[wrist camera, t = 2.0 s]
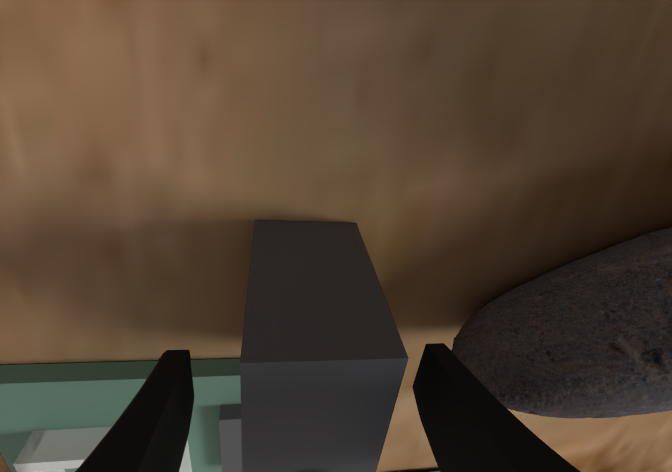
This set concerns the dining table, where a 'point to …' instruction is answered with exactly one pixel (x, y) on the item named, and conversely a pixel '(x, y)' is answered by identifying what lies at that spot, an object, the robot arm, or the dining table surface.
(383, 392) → the plug
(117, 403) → the board
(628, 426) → the dining table surface
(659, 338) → the perforated stone tool
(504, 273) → the dining table surface
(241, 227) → the dining table surface
